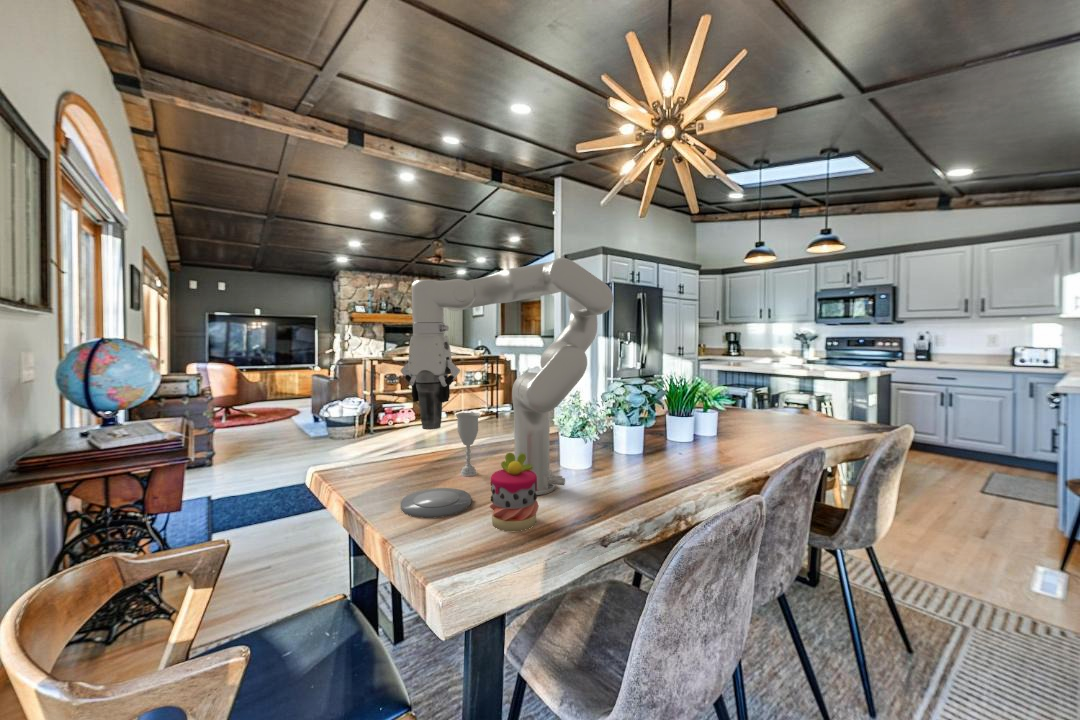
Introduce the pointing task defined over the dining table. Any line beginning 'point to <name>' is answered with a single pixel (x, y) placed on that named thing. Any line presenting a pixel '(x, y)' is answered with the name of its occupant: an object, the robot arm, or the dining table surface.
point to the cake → (514, 495)
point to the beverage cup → (429, 399)
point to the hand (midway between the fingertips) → (430, 400)
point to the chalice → (468, 437)
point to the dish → (435, 502)
